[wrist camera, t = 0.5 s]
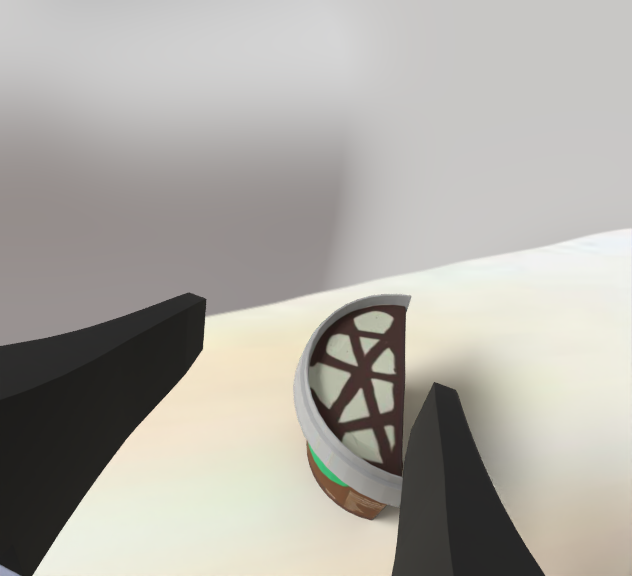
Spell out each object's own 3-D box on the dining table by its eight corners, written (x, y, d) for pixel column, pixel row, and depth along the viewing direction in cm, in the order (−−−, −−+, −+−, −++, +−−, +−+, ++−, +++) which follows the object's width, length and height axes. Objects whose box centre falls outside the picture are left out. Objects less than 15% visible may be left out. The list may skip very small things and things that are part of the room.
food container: (307, 359, 34) (316, 272, 27) (381, 373, 34) (411, 289, 26) (270, 526, 25) (269, 465, 18) (369, 547, 25) (409, 493, 18)
